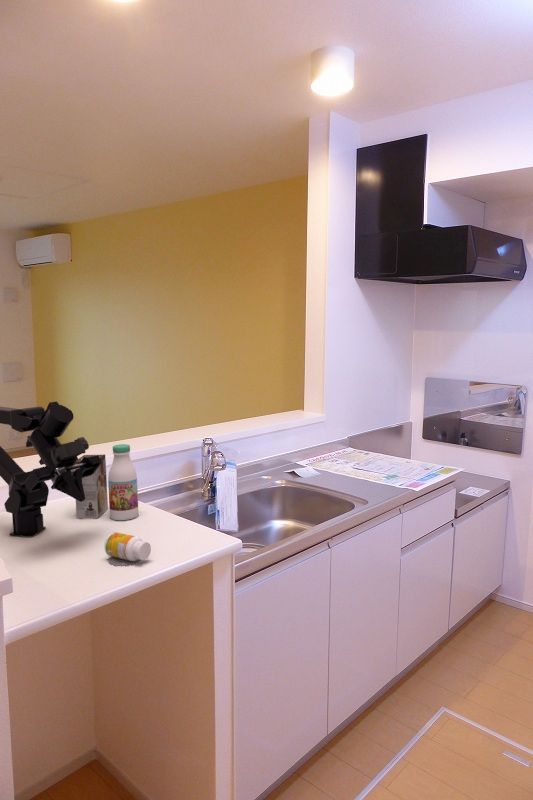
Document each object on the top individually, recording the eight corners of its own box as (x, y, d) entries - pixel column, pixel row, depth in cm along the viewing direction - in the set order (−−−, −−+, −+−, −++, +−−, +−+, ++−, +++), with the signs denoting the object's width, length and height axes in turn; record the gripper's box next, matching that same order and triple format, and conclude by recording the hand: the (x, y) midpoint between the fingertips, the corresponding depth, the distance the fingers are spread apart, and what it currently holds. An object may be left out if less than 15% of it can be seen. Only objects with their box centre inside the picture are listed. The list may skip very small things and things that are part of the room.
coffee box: (86, 508, 170) (83, 454, 168) (108, 508, 169) (106, 454, 167) (75, 519, 160) (72, 461, 158) (99, 518, 160) (96, 461, 158)
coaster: (102, 566, 129) (102, 564, 129) (117, 553, 136) (117, 551, 136) (134, 568, 127) (134, 567, 127) (147, 555, 134) (147, 554, 134)
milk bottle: (107, 514, 164) (104, 444, 162) (135, 510, 167) (132, 441, 165) (112, 522, 157) (108, 449, 154) (141, 518, 160) (138, 446, 158)
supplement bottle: (121, 530, 136) (154, 537, 132) (118, 554, 136) (151, 561, 131) (105, 532, 132) (138, 539, 127) (102, 557, 131) (135, 565, 127)
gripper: (29, 434, 130) (65, 489, 126) (95, 422, 146) (129, 471, 141) (10, 464, 135) (43, 519, 131) (75, 450, 151) (107, 498, 146)
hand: (83, 500), depth 137 cm, fingers closed
